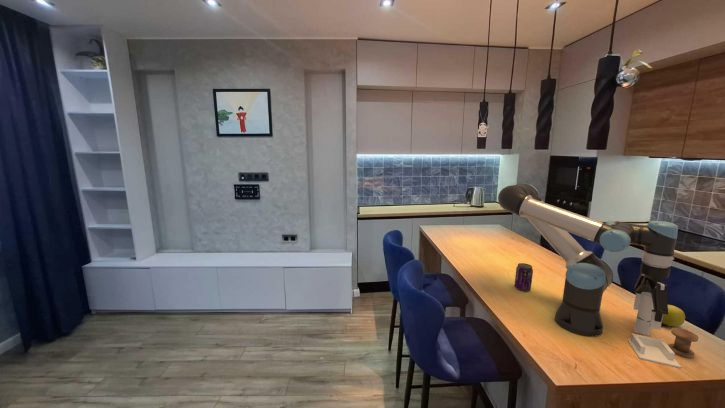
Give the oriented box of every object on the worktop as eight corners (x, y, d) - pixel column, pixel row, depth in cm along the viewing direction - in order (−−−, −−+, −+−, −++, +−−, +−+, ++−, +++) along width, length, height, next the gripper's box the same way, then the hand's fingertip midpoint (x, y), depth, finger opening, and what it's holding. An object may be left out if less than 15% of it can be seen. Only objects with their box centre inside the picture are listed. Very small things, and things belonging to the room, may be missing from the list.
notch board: (639, 358, 96) (641, 350, 95) (627, 340, 105) (628, 332, 104) (681, 368, 91) (683, 359, 91) (664, 348, 101) (666, 340, 100)
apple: (690, 332, 110) (695, 312, 108) (662, 329, 111) (666, 310, 110) (672, 320, 117) (676, 302, 116) (646, 318, 119) (650, 299, 117)
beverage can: (527, 293, 138) (530, 269, 136) (511, 288, 143) (514, 265, 141) (532, 289, 143) (535, 265, 141) (517, 284, 148) (520, 261, 146)
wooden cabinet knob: (673, 354, 97) (677, 336, 96) (664, 344, 103) (668, 326, 101) (698, 360, 95) (702, 341, 94) (687, 349, 100) (692, 330, 99)
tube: (633, 326, 113) (641, 290, 110) (649, 331, 110) (657, 294, 107) (634, 332, 109) (642, 295, 107) (650, 336, 107) (658, 298, 104)
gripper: (690, 280, 92) (677, 340, 96) (653, 254, 114) (644, 304, 118) (658, 275, 95) (647, 334, 99) (628, 252, 117) (620, 301, 121)
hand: (645, 318), depth 108 cm, fingers open, 13 cm apart
